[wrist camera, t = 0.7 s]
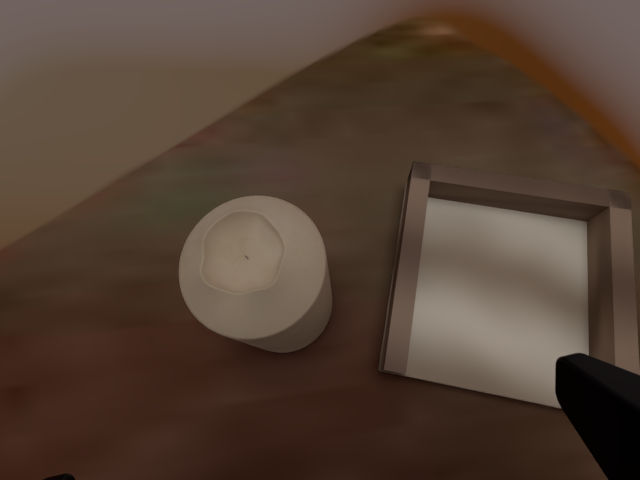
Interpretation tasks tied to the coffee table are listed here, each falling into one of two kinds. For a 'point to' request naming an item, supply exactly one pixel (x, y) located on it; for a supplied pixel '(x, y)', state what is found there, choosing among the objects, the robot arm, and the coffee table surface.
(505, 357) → the dock bay
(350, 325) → the coffee table surface
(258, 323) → the candle
